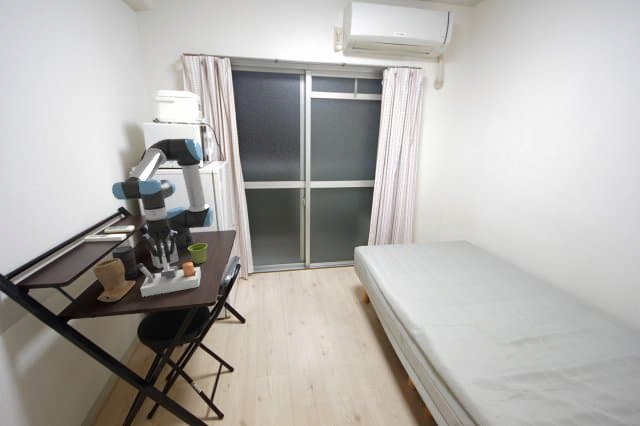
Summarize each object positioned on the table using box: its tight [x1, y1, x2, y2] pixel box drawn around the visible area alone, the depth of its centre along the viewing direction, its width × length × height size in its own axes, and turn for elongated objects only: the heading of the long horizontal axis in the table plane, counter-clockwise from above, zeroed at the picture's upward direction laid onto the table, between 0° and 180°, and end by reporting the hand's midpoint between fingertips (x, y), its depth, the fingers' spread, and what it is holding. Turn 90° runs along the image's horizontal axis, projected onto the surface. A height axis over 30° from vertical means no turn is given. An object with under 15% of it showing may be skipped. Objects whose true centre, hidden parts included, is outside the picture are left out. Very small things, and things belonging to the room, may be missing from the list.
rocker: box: [160, 265, 179, 277], centre depth 115 cm, size 9×5×2 cm, turn 20°
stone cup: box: [93, 258, 136, 303], centre depth 109 cm, size 15×12×15 cm
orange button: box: [182, 261, 195, 278], centre depth 118 cm, size 4×4×6 cm
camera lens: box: [111, 245, 139, 281], centre depth 122 cm, size 8×8×15 cm
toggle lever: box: [137, 262, 154, 278], centre depth 112 cm, size 3×2×9 cm
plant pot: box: [187, 242, 208, 265], centre depth 138 cm, size 9×9×9 cm
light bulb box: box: [149, 240, 179, 270], centre depth 136 cm, size 11×7×11 cm, turn 145°
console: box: [139, 266, 202, 298], centre depth 117 cm, size 12×22×6 cm, turn 110°
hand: (166, 269), depth 111 cm, fingers closed
